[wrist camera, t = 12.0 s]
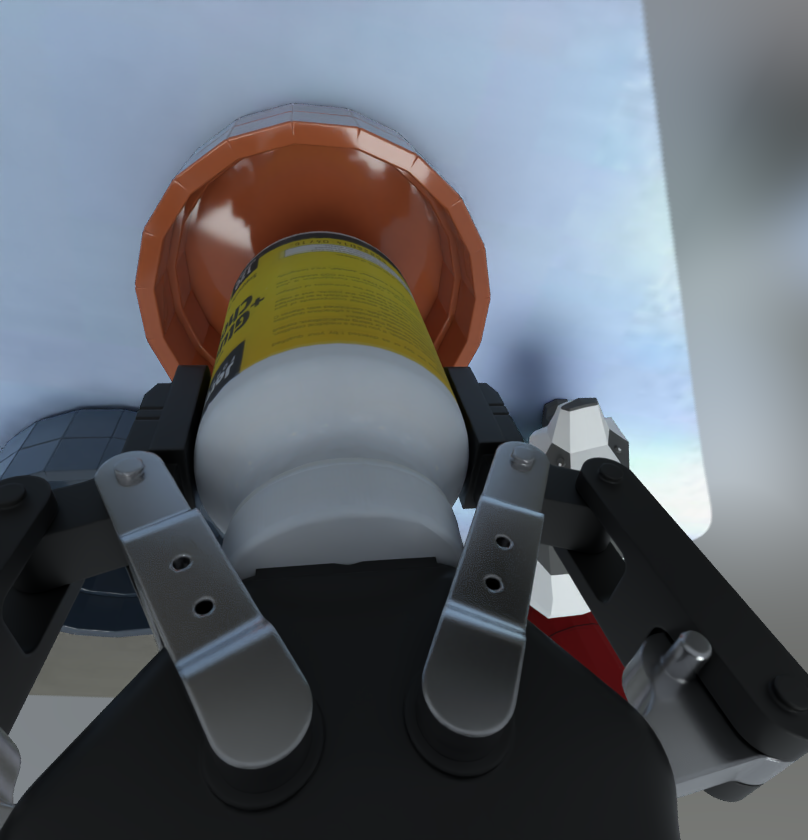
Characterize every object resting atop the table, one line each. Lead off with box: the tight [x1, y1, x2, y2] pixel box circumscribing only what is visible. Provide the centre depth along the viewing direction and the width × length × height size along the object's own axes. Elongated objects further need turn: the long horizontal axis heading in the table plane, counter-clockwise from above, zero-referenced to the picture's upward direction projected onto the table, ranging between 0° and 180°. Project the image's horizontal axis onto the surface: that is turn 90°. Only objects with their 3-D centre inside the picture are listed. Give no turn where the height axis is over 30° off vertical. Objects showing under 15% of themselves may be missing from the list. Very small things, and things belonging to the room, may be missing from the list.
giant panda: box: [529, 398, 629, 618], centre depth 26 cm, size 15×6×10 cm, turn 10°
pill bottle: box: [194, 231, 469, 580], centre depth 14 cm, size 6×6×12 cm
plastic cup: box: [527, 606, 628, 702], centre depth 37 cm, size 11×11×12 cm
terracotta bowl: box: [135, 103, 490, 381], centre depth 20 cm, size 12×12×4 cm
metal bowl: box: [0, 409, 225, 637], centre depth 26 cm, size 12×12×4 cm
